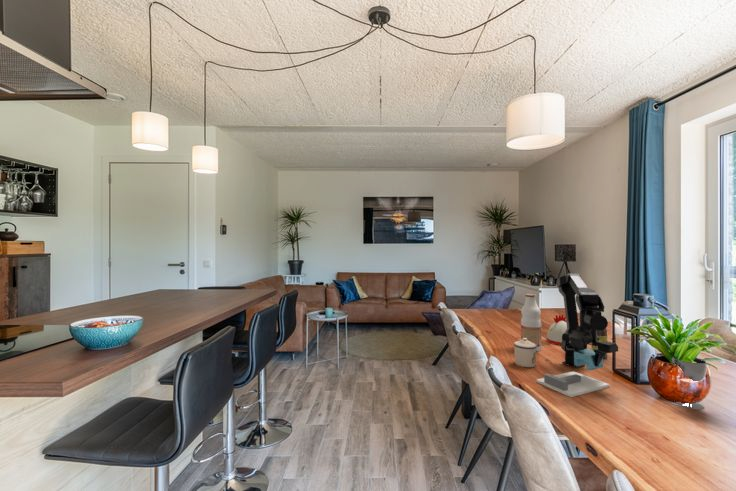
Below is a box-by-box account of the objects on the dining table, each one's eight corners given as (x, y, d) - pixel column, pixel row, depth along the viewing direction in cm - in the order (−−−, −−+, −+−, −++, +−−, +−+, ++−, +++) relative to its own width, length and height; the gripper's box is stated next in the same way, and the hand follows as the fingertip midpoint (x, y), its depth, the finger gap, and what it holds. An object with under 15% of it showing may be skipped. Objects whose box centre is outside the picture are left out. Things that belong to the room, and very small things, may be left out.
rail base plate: (573, 373, 135) (573, 364, 135) (609, 386, 123) (609, 376, 123) (536, 382, 127) (536, 371, 127) (571, 397, 114) (571, 385, 114)
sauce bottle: (594, 353, 160) (593, 313, 160) (609, 357, 155) (609, 315, 155) (589, 356, 156) (589, 314, 156) (605, 360, 151) (604, 317, 151)
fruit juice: (529, 352, 163) (529, 296, 163) (517, 346, 172) (516, 293, 172) (545, 350, 165) (545, 295, 165) (532, 345, 174) (532, 292, 174)
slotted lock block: (587, 362, 133) (587, 348, 133) (603, 367, 127) (602, 353, 127) (574, 365, 130) (574, 351, 130) (589, 370, 124) (589, 356, 124)
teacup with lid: (537, 369, 141) (537, 342, 141) (514, 366, 144) (513, 339, 144) (535, 360, 152) (535, 335, 152) (514, 357, 155) (513, 333, 155)
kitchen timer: (541, 339, 186) (541, 312, 186) (563, 338, 188) (563, 312, 188) (558, 346, 172) (558, 318, 173) (582, 345, 174) (582, 317, 174)
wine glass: (700, 412, 103) (700, 364, 104) (668, 401, 111) (668, 357, 111) (710, 406, 107) (710, 360, 107) (679, 396, 114) (678, 353, 114)
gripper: (552, 321, 134) (552, 359, 134) (599, 332, 117) (599, 375, 117) (570, 318, 139) (571, 355, 139) (619, 328, 121) (619, 370, 121)
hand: (588, 363), depth 129 cm, fingers closed on slotted lock block, 6 cm apart
